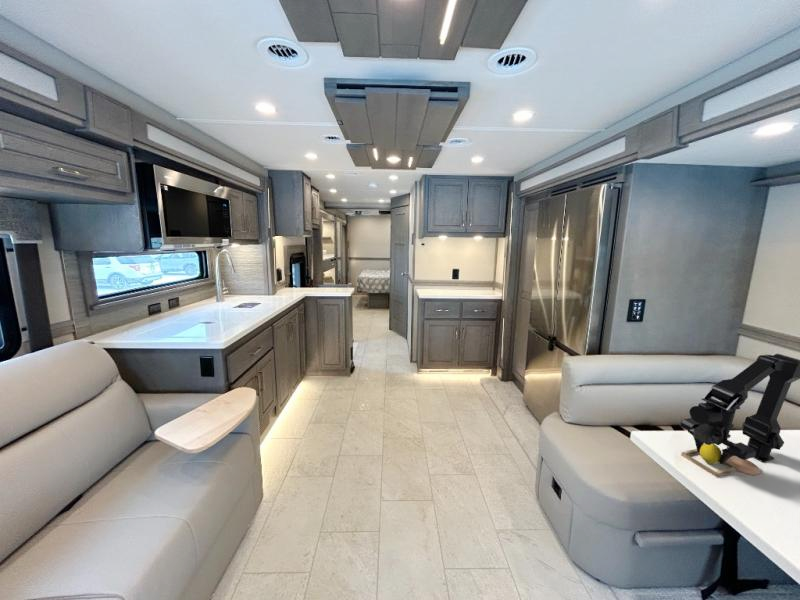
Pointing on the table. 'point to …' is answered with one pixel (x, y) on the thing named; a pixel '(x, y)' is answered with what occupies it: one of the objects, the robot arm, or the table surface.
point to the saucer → (744, 466)
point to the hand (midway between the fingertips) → (709, 457)
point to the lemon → (710, 453)
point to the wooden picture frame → (717, 473)
